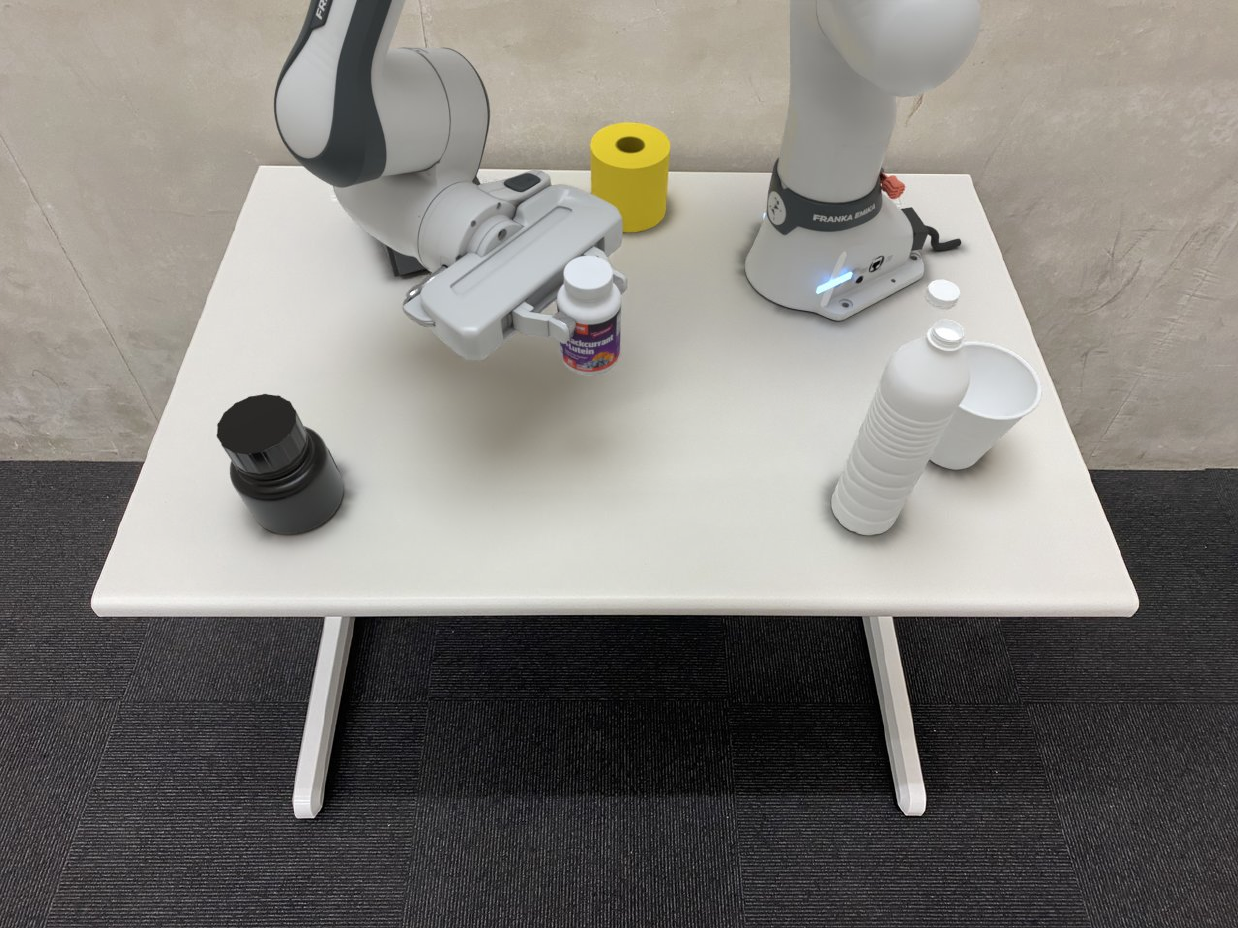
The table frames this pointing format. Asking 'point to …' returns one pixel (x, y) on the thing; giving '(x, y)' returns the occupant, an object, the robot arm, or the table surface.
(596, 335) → the pill bottle
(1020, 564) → the table surface
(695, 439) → the table surface
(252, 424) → the ink bottle
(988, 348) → the cup
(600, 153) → the yellow toilet paper roll
